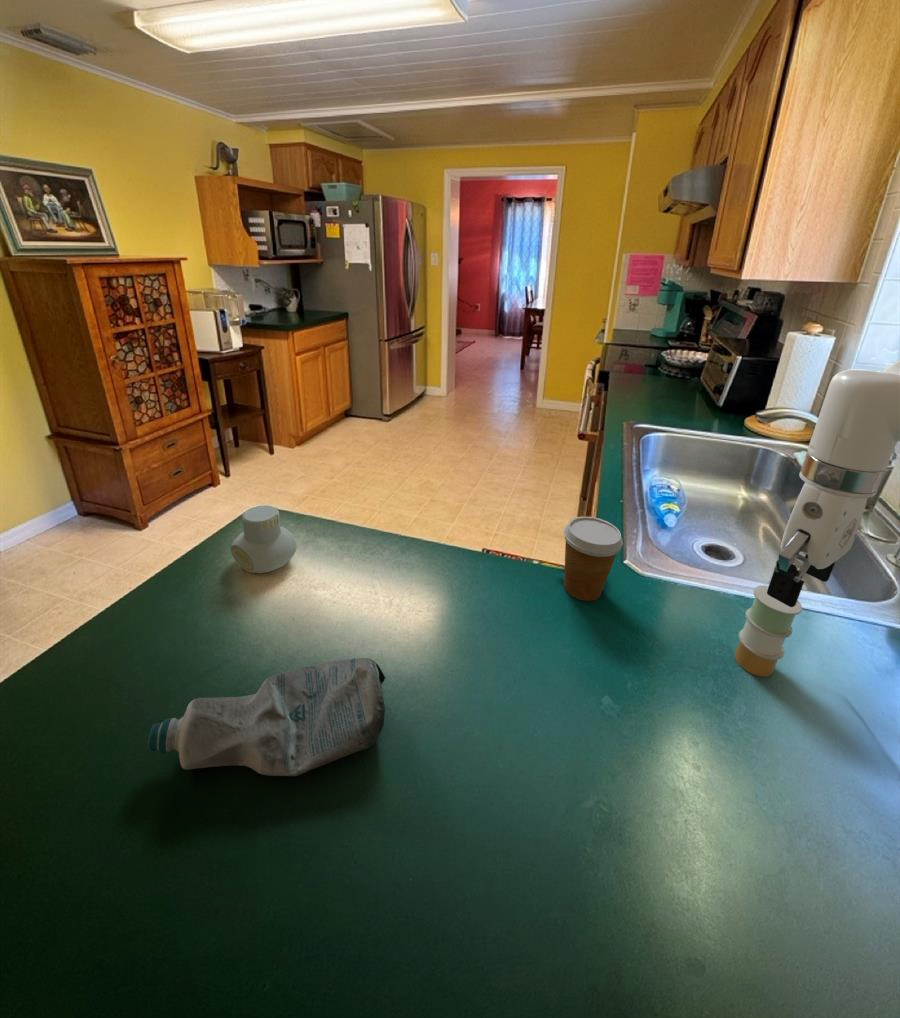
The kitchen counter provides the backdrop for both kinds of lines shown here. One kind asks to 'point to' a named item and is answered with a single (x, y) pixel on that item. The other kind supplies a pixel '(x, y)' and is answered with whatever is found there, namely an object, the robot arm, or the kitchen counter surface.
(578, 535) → the disposable coffee cup
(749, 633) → the white pod
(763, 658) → the caramel pod
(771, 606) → the cylinder
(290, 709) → the detergent
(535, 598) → the kitchen counter surface
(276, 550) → the air freshener
